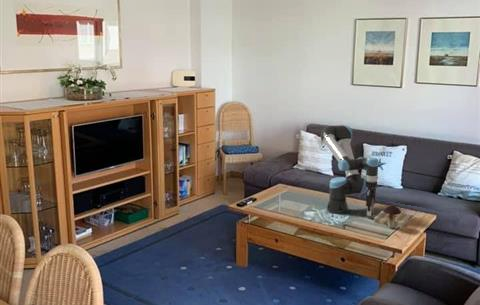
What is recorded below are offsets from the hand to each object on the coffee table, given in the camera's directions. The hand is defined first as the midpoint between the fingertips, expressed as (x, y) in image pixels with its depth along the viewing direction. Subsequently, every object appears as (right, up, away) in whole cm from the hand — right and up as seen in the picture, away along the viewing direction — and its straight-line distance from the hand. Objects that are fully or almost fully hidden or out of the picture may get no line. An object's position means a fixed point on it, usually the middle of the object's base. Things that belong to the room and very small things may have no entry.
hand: (370, 214), depth 335 cm
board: (+13, -4, -5) cm, 14 cm away
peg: (0, -3, +1) cm, 3 cm away
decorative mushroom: (+9, -7, -19) cm, 22 cm away
